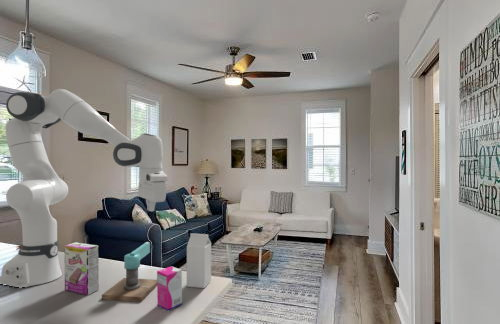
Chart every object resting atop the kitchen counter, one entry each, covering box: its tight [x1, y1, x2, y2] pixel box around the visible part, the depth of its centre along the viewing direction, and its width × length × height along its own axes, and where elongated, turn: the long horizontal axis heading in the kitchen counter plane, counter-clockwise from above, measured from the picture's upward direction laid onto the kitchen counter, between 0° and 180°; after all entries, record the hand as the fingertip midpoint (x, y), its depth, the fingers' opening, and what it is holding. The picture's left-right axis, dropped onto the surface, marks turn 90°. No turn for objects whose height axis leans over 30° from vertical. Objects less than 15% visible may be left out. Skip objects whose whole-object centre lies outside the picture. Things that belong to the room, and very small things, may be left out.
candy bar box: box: [63, 241, 99, 296], centre depth 106 cm, size 11×5×16 cm, turn 71°
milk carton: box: [186, 233, 212, 289], centre depth 113 cm, size 7×7×19 cm
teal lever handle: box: [123, 241, 151, 270], centre depth 112 cm, size 17×5×5 cm, turn 177°
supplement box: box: [156, 266, 183, 312], centre depth 96 cm, size 6×6×12 cm
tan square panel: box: [101, 267, 157, 303], centre depth 106 cm, size 14×14×9 cm
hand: (150, 210), depth 116 cm, fingers closed
